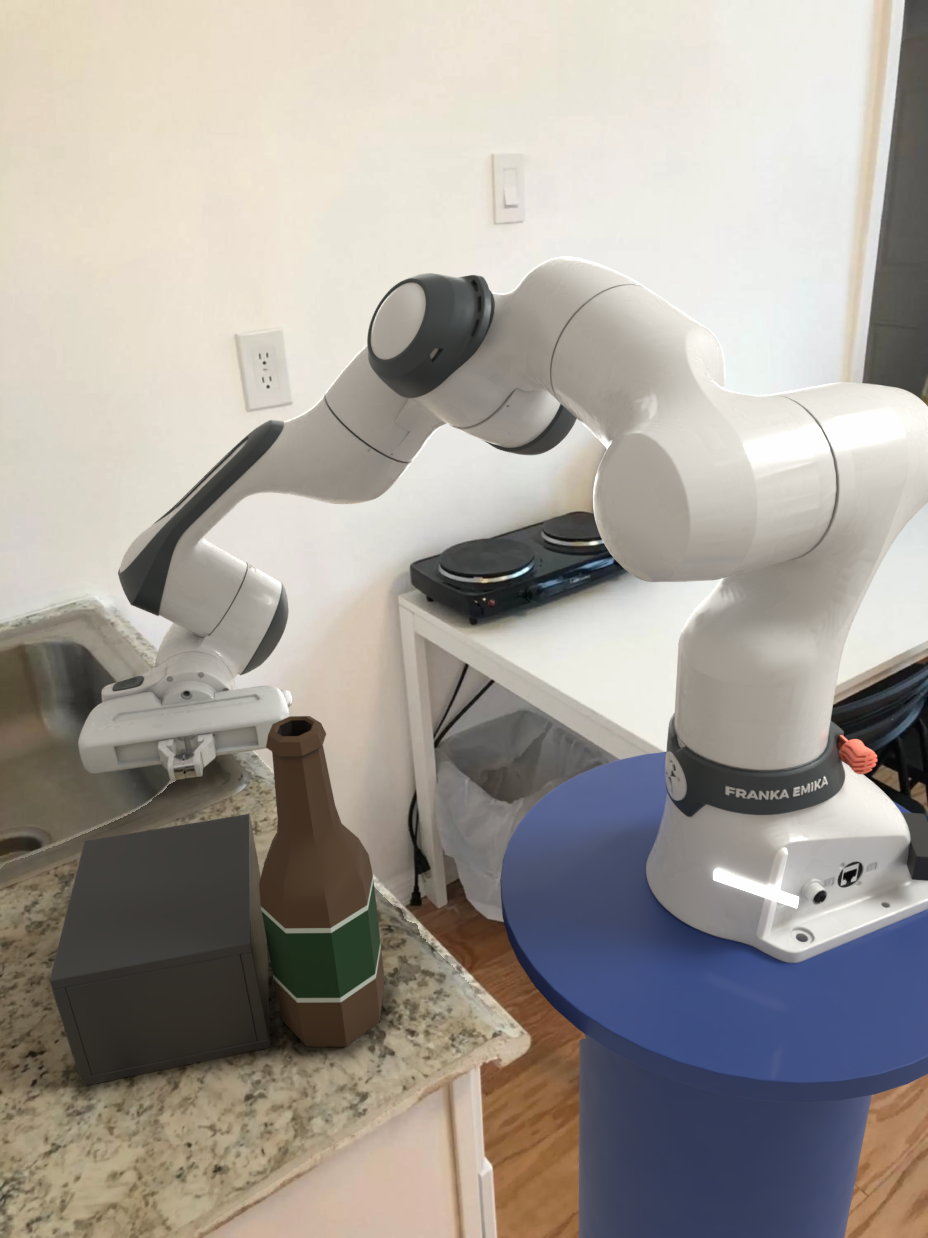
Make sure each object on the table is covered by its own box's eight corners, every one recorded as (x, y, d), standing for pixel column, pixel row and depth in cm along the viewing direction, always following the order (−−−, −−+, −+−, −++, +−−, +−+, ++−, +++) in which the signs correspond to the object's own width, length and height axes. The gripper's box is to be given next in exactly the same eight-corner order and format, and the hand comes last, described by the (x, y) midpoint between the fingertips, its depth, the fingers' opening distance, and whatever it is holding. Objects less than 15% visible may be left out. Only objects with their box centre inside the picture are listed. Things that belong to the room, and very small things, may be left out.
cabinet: (109, 935, 76) (84, 840, 72) (266, 907, 78) (249, 813, 74) (82, 1087, 63) (49, 981, 59) (270, 1048, 65) (250, 943, 61)
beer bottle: (406, 986, 70) (379, 707, 60) (353, 1068, 63) (312, 772, 53) (318, 957, 73) (278, 687, 63) (259, 1032, 66) (204, 746, 56)
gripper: (294, 712, 102) (301, 783, 90) (99, 740, 98) (78, 818, 86) (287, 661, 99) (293, 726, 87) (86, 688, 96) (63, 760, 83)
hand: (184, 772), depth 87 cm, fingers closed
